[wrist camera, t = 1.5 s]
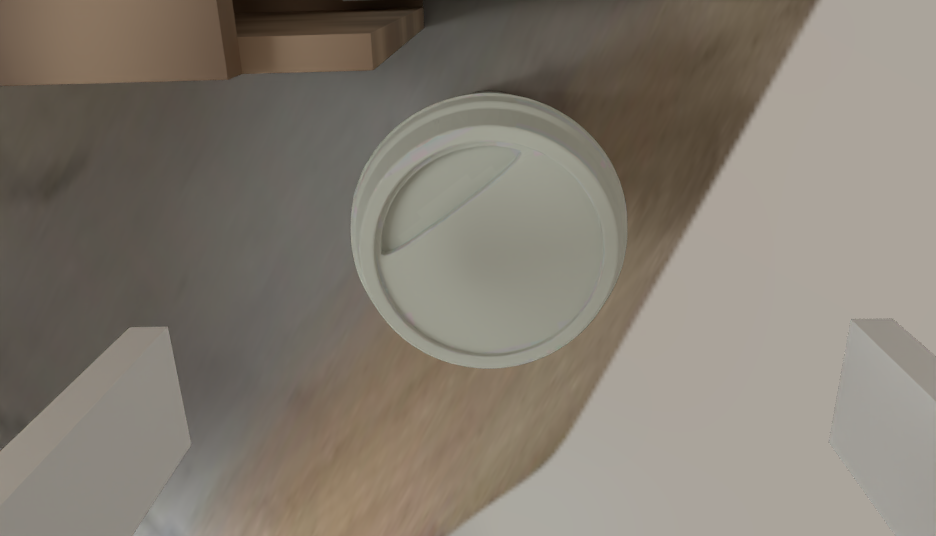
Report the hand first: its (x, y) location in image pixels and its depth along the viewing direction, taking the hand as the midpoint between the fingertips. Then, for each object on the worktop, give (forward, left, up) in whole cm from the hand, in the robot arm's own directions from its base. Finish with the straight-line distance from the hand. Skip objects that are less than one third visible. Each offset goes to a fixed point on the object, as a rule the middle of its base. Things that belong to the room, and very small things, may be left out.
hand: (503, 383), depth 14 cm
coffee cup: (0, 0, -19) cm, 19 cm away
